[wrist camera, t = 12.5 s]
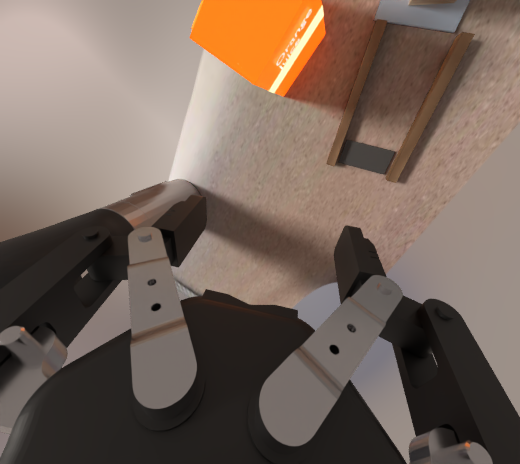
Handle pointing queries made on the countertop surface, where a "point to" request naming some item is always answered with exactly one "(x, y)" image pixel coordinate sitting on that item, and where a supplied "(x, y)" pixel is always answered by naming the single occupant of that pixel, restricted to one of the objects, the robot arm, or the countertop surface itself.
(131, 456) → the robot arm
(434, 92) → the channel
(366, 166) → the mat
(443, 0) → the beech block
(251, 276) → the countertop surface
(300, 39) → the orange juice
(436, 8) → the mat
